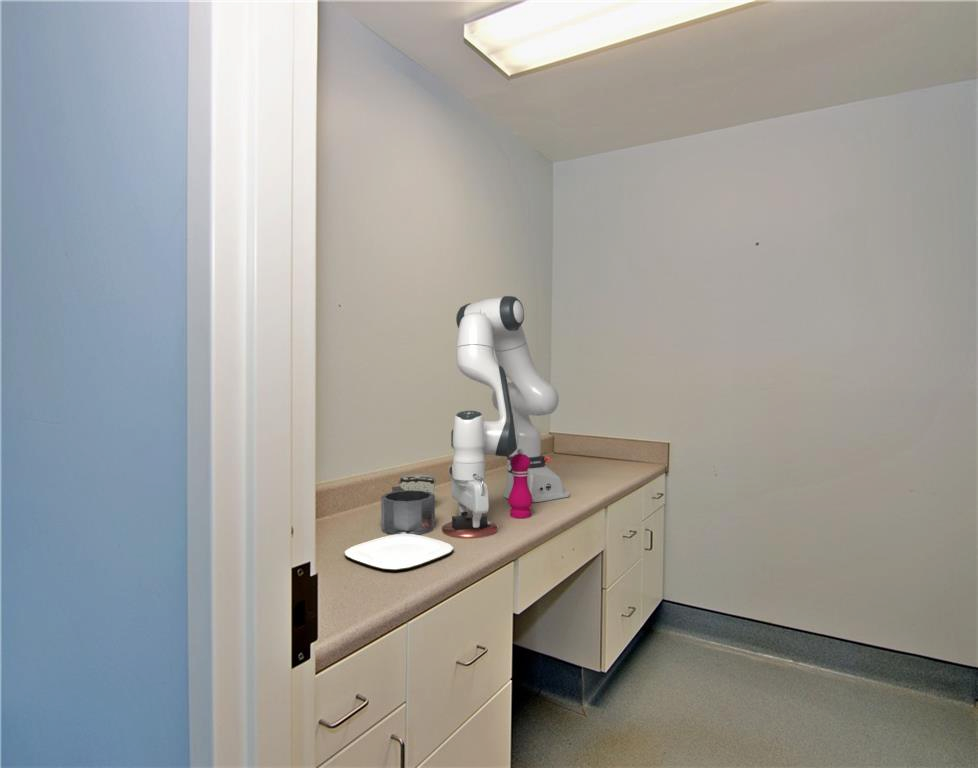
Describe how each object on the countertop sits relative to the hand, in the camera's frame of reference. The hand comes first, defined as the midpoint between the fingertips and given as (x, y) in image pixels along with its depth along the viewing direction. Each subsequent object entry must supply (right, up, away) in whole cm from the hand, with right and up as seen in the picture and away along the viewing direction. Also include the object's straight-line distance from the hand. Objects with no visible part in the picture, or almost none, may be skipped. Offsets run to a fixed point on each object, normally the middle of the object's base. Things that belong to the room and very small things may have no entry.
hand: (469, 522), depth 151 cm
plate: (-16, -3, -19) cm, 25 cm away
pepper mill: (+15, -2, +15) cm, 21 cm away
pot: (-18, -2, +5) cm, 19 cm away
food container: (-17, -2, +26) cm, 31 cm away
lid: (0, -3, 0) cm, 2 cm away
